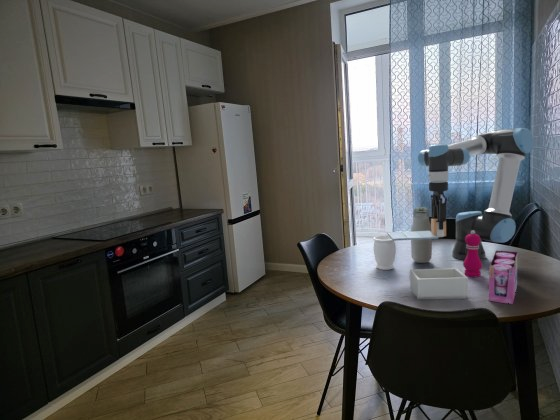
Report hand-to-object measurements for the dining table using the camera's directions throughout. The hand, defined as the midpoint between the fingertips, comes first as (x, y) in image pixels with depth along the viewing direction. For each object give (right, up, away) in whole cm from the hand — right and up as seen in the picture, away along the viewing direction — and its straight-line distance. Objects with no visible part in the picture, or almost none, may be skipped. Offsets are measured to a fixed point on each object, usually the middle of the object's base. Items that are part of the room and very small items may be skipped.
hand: (438, 235), depth 160 cm
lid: (-9, 0, +1) cm, 9 cm away
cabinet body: (-7, -22, -14) cm, 27 cm away
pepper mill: (+16, -18, +3) cm, 24 cm away
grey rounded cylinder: (+3, -15, +26) cm, 30 cm away
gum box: (+17, -21, -18) cm, 32 cm away
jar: (-17, -17, +22) cm, 33 cm away
